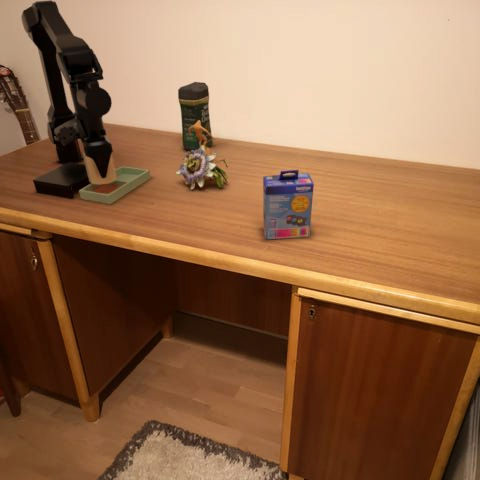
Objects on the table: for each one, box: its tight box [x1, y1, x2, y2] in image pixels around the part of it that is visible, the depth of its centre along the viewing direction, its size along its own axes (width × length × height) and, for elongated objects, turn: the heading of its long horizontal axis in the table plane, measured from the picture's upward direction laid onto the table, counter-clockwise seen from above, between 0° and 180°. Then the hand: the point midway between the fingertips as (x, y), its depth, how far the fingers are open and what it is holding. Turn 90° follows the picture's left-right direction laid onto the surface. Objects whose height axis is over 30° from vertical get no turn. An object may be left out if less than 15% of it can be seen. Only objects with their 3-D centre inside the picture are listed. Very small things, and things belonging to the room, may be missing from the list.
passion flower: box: [175, 145, 229, 191], centre depth 121 cm, size 11×11×12 cm
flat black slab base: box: [32, 162, 89, 200], centre depth 125 cm, size 14×12×4 cm
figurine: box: [189, 120, 215, 155], centre depth 133 cm, size 8×6×12 cm
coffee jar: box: [177, 81, 213, 152], centre depth 142 cm, size 10×8×19 cm
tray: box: [78, 165, 152, 205], centre depth 123 cm, size 18×9×2 cm, turn 155°
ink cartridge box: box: [262, 169, 315, 241], centre depth 96 cm, size 10×6×14 cm, turn 95°
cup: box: [82, 151, 117, 185], centre depth 116 cm, size 7×7×7 cm
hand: (101, 172), depth 117 cm, fingers closed on cup, 7 cm apart
